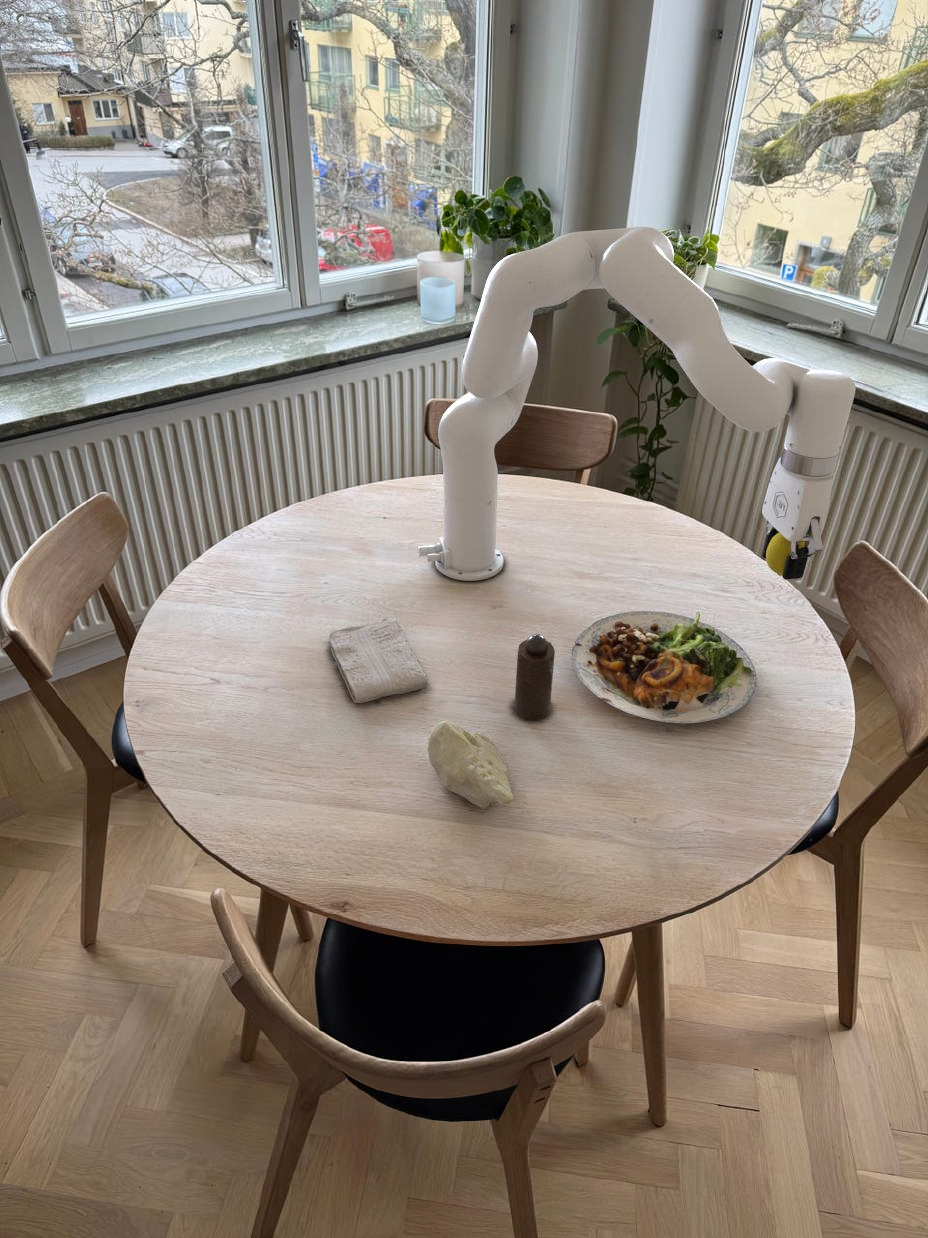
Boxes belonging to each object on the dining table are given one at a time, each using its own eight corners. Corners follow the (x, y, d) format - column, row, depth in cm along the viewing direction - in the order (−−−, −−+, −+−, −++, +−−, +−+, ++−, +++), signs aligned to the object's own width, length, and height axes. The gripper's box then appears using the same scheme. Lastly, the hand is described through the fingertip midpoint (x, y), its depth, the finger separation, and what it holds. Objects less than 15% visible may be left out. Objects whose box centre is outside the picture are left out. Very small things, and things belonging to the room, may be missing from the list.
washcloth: (394, 626, 149) (393, 611, 148) (431, 690, 136) (431, 674, 134) (324, 642, 146) (322, 626, 144) (355, 709, 132) (354, 693, 130)
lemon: (794, 567, 142) (806, 522, 138) (801, 586, 138) (813, 540, 133) (758, 565, 143) (769, 520, 138) (764, 583, 138) (775, 538, 134)
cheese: (433, 754, 127) (389, 756, 113) (465, 714, 126) (424, 711, 112) (512, 829, 122) (475, 841, 108) (546, 789, 121) (514, 795, 107)
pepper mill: (519, 723, 130) (524, 649, 122) (510, 700, 134) (514, 628, 127) (554, 718, 131) (560, 645, 123) (544, 695, 135) (549, 623, 128)
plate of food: (760, 642, 147) (768, 611, 143) (746, 753, 125) (755, 720, 122) (592, 609, 154) (595, 579, 151) (551, 708, 133) (554, 676, 129)
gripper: (756, 437, 135) (734, 542, 146) (816, 488, 122) (787, 599, 132) (801, 433, 137) (776, 537, 147) (866, 483, 123) (833, 594, 133)
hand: (781, 566), depth 139 cm, fingers closed on lemon, 5 cm apart
